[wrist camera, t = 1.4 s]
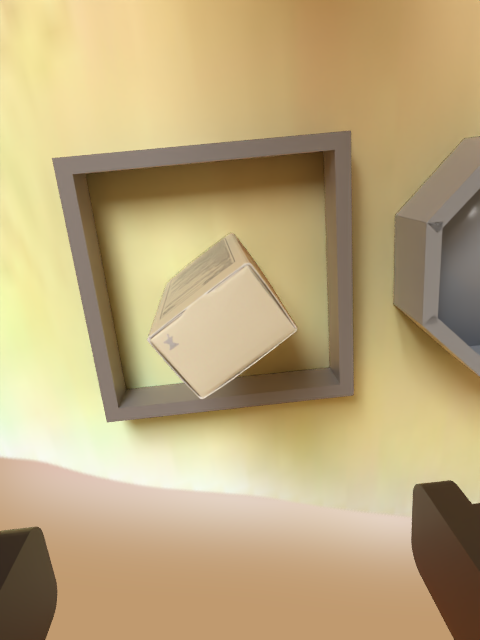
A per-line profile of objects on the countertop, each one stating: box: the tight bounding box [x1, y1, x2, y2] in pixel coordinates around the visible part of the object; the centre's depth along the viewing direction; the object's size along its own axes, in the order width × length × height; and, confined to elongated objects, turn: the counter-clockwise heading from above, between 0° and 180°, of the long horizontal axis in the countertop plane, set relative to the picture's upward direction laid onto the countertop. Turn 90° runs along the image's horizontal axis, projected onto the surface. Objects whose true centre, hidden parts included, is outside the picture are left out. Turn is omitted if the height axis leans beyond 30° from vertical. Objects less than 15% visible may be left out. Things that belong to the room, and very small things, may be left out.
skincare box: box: [147, 233, 297, 399], centre depth 27 cm, size 6×4×12 cm
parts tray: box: [52, 131, 354, 422], centre depth 32 cm, size 18×18×3 cm
